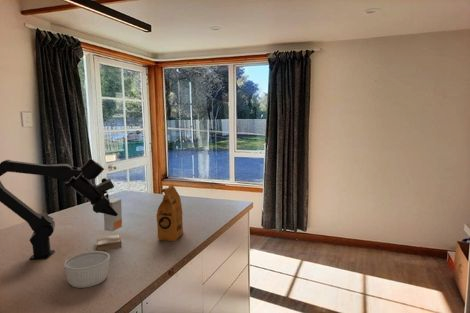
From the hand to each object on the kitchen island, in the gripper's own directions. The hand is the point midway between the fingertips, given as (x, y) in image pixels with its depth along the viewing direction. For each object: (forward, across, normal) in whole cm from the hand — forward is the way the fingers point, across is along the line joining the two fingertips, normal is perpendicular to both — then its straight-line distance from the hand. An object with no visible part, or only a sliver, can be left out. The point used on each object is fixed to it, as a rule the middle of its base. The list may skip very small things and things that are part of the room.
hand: (116, 212), depth 133 cm
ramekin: (+2, -28, +17) cm, 33 cm away
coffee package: (+24, -2, -6) cm, 25 cm away
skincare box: (+4, 0, +6) cm, 7 cm away
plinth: (+7, -1, +11) cm, 13 cm away
